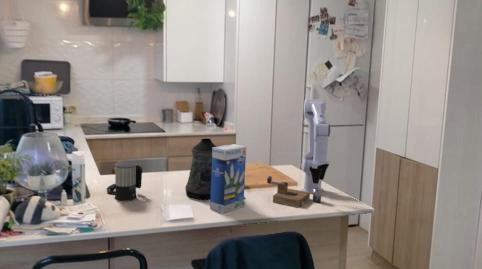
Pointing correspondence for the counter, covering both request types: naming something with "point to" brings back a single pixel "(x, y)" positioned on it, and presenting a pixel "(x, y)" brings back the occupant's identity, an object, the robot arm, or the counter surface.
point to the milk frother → (126, 181)
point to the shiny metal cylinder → (317, 195)
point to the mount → (290, 195)
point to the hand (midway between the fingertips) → (318, 181)
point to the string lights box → (228, 177)
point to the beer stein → (200, 171)
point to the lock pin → (269, 180)
